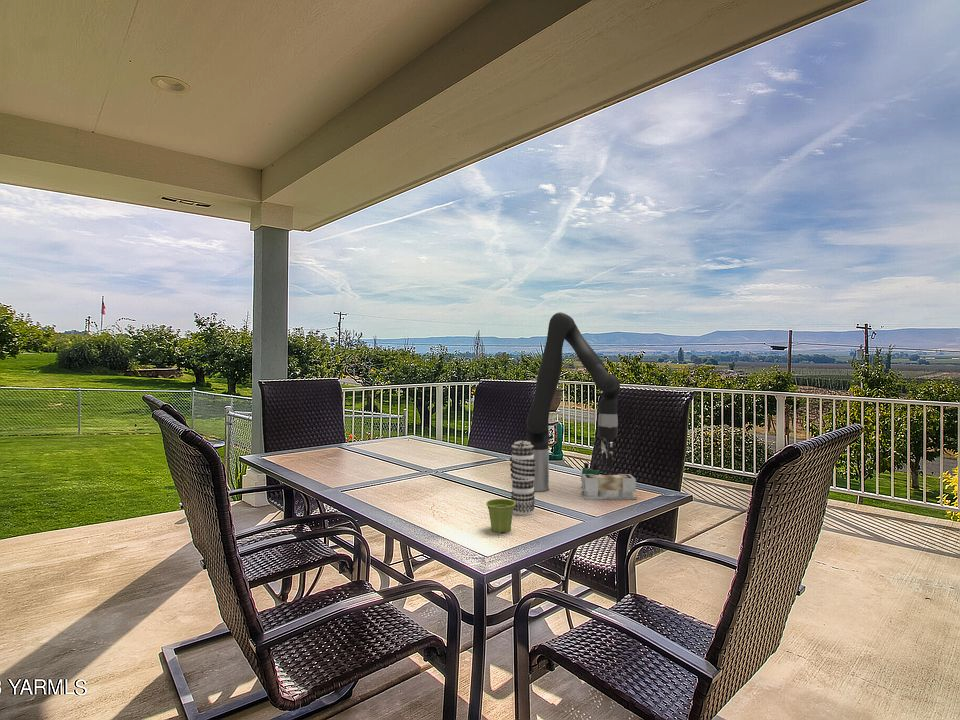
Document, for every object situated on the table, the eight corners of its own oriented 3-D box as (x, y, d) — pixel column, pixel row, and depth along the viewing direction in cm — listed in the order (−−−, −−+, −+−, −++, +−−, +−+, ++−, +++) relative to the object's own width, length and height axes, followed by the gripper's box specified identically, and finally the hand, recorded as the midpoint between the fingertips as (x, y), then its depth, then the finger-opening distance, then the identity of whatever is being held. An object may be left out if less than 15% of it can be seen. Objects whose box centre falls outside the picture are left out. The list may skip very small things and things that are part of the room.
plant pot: (503, 537, 151) (503, 508, 151) (480, 530, 157) (480, 503, 157) (521, 529, 158) (521, 502, 158) (498, 523, 164) (498, 497, 165)
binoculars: (609, 464, 212) (596, 465, 205) (608, 489, 211) (594, 491, 204) (592, 461, 219) (578, 462, 212) (590, 485, 218) (577, 487, 211)
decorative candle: (517, 516, 172) (516, 444, 172) (505, 509, 180) (505, 440, 180) (540, 513, 175) (539, 442, 175) (528, 506, 184) (527, 439, 184)
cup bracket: (584, 499, 193) (584, 478, 193) (581, 493, 201) (581, 474, 201) (636, 499, 192) (636, 478, 192) (630, 493, 201) (630, 474, 201)
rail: (590, 490, 195) (590, 477, 195) (588, 487, 199) (588, 474, 199) (628, 490, 194) (628, 477, 194) (625, 487, 199) (625, 474, 199)
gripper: (595, 422, 204) (594, 461, 204) (601, 427, 190) (601, 469, 190) (613, 423, 204) (612, 462, 204) (621, 427, 189) (620, 469, 189)
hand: (607, 465), depth 197 cm, fingers open, 8 cm apart
